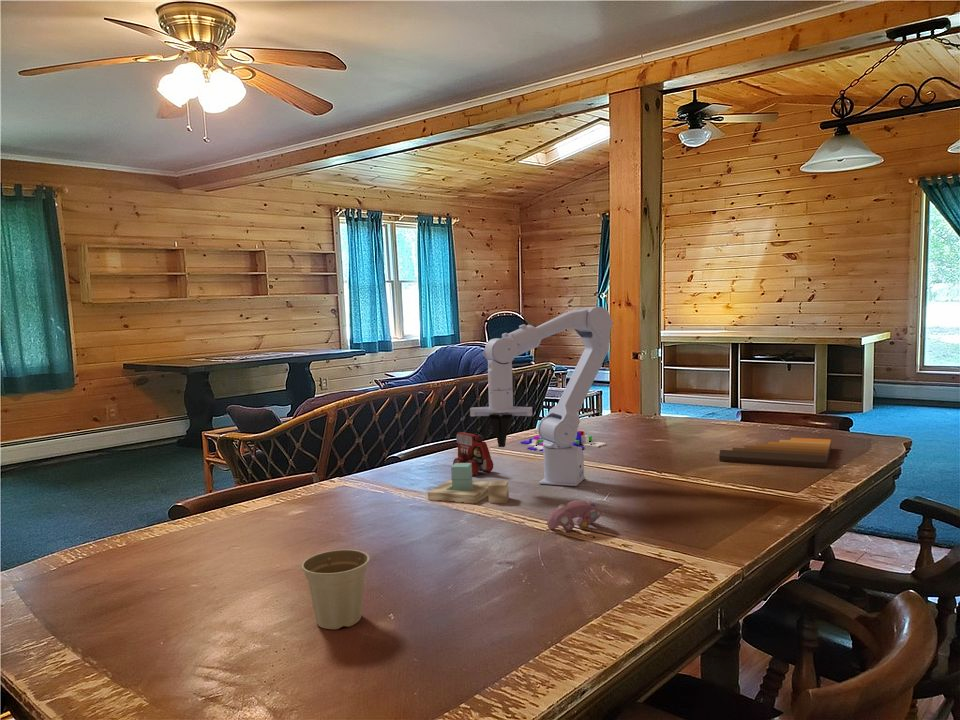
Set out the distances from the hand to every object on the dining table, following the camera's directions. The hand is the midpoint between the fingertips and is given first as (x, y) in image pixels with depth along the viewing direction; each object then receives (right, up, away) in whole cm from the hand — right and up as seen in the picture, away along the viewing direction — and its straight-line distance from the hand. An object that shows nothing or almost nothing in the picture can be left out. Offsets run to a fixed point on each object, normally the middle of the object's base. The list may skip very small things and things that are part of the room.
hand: (501, 446), depth 161 cm
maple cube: (-1, -11, -8) cm, 14 cm away
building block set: (+19, -7, +50) cm, 54 cm away
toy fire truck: (-7, -10, +20) cm, 23 cm away
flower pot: (-25, -17, -65) cm, 72 cm away
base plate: (-9, -11, -2) cm, 14 cm away
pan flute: (+75, -6, +23) cm, 79 cm away
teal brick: (-9, -10, -2) cm, 14 cm away
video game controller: (+13, -12, -30) cm, 35 cm away
